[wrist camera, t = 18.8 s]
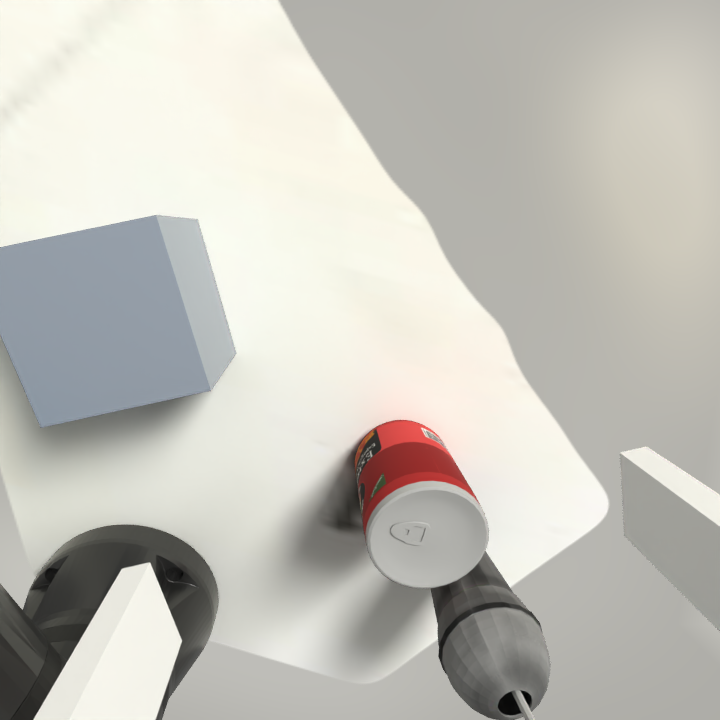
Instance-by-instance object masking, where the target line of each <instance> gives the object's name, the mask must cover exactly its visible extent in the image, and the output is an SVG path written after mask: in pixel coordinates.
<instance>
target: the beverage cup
mask: <svg viewBox="0 0 720 720" xmlns="http://www.w3.org/2000/svg"><path fill="white" fill-rule="evenodd" d="M431 593H432V598H433V603H434V608H435V613H436V618H437V623H438V644H439V659H440V662H441V665H442V668H443V670H444V671H445V673H446V674H447V675H448V678H449V680H450V683H451V684H452V686H453V688H454V689H455V691H456V692H457V693H458V694H459V696H460V697H461V698H462V699H463V700H464V701H465V702H466V703H467V704H468V705H469V706H470V707H471V708H472V709H474V710H475V711H477V712H479V713H480V714H483V715H484V716H486V717H488V718H492V719H496V720H515V719H518V718H521V717H524V718H525V720H535V719H534V716H533V714H532V711H533V710H534V709H535V708H536V707H537V706H538V705H539V703H540V702H541V700H542V698H543V696H544V694H545V692H546V690H547V687H548V682H549V676H550V658H549V653H548V650H547V646H546V642H545V639H544V636H543V633H542V629H541V626H540V623H539V621H538V620H537V619H536V617H535V616H534V615H533V614H532V612H530V611H529V610H528V609H527V608H526V606H525V605H524V604H523V603H522V602H521V601H520V599H519V598H518V597H517V596H516V595H515V594H514V593H513V592H512V590H511V589H510V587H509V586H508V584H507V583H506V581H505V580H504V578H503V577H502V575H501V574H500V572H499V571H498V569H497V568H496V566H495V565H494V563H493V562H492V560H491V559H490V557H489V556H488V554H487V553H486V551H485V552H484V554H483V556H482V558H481V560H480V561H479V562H478V564H477V565H476V566H475V567H474V568H473V569H472V570H471V571H470V572H469V573H467V574H466V575H465V576H463V577H462V578H460V579H458V580H457V581H454V582H452V583H450V584H447V585H444V586H440V587H435V588H431Z"/></svg>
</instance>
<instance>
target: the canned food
mask: <svg viewBox="0 0 720 720" xmlns="http://www.w3.org/2000/svg"><path fill="white" fill-rule="evenodd" d="M355 473H356V480H357V487H358V494H359V501H360V508H361V515H362V522H363V529H364V534H365V540H366V545H367V548H368V552H369V554H370V558H371V560H372V561H373V563H374V565H375V567H376V568H377V569H378V570H379V571H380V572H381V573H382V574H383V575H384V576H386V577H387V578H388V579H390V580H391V581H393V582H396V583H398V584H400V585H403V586H407V587H411V588H422V589H424V588H435V587H440V586H444V585H447V584H450V583H452V582H454V581H457V580H458V579H460V578H462V577H463V576H465V575H466V574H467V573H469V572H470V571H471V570H472V569H473V568H474V567H475V566H476V565H477V564H478V562H479V561H480V560H481V558H482V556H483V554H484V552H485V550H486V547H487V544H488V540H489V528H488V523H487V519H486V517H485V514H484V512H483V510H482V508H481V505H480V504H479V502H478V500H477V499H476V496H475V495H474V493H473V491H472V490H471V488H470V486H469V485H468V483H467V481H466V480H465V478H464V476H463V475H462V473H461V471H460V470H459V468H458V466H457V465H456V463H455V461H454V460H453V458H452V456H451V455H450V453H449V451H448V450H447V448H446V446H445V445H444V443H443V442H442V440H441V439H440V438H439V436H438V435H437V434H436V433H435V432H433V431H432V430H431V429H429V428H427V427H426V426H424V425H422V424H419V423H416V422H413V421H407V420H395V421H390V422H386V423H384V424H381V425H379V426H377V427H376V428H374V429H373V430H371V431H370V432H369V433H368V434H367V435H366V436H365V438H364V439H363V441H362V442H361V444H360V446H359V448H358V450H357V453H356V457H355Z"/></svg>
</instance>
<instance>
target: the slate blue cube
mask: <svg viewBox="0 0 720 720" xmlns="http://www.w3.org/2000/svg"><path fill="white" fill-rule="evenodd" d="M0 335H1V338H2V340H3V342H4V344H5V347H6V349H7V351H8V354H9V356H10V358H11V361H12V363H13V365H14V367H15V370H16V372H17V374H18V377H19V379H20V381H21V384H22V386H23V388H24V390H25V393H26V395H27V397H28V400H29V402H30V404H31V407H32V409H33V411H34V413H35V416H36V418H37V420H38V423H39V425H40V427H41V428H42V427H47V426H51V425H56V424H60V423H65V422H69V421H74V420H79V419H83V418H88V417H92V416H97V415H102V414H106V413H111V412H115V411H120V410H124V409H129V408H134V407H138V406H143V405H147V404H152V403H157V402H161V401H166V400H170V399H175V398H179V397H184V396H189V395H193V394H198V393H202V392H207V391H211V390H212V388H213V387H214V385H215V384H216V382H217V381H218V379H219V378H220V376H221V375H222V374H223V372H224V371H225V369H226V368H227V366H228V365H229V363H230V362H231V360H232V359H233V357H234V356H235V354H236V351H235V347H234V344H233V340H232V337H231V333H230V330H229V327H228V323H227V320H226V316H225V313H224V309H223V306H222V302H221V299H220V295H219V292H218V288H217V285H216V281H215V278H214V275H213V271H212V268H211V264H210V261H209V257H208V254H207V250H206V247H205V243H204V240H203V236H202V233H201V229H200V226H199V223H198V219H189V218H180V217H170V216H160V215H154V216H149V217H145V218H140V219H135V220H130V221H125V222H120V223H115V224H111V225H106V226H101V227H96V228H91V229H86V230H82V231H77V232H72V233H67V234H62V235H57V236H53V237H48V238H43V239H38V240H33V241H28V242H24V243H19V244H14V245H9V246H4V247H0Z"/></svg>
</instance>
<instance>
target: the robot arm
mask: <svg viewBox="0 0 720 720" xmlns="http://www.w3.org/2000/svg"><path fill="white" fill-rule="evenodd" d="M620 465H621V485H622V502H623V503H622V504H623V523H624V536H625V537H626V538H627V539H628V540H629V541H630V542H631V543H632V544H633V545H634V546H635V547H636V548H637V549H638V550H639V551H640V552H641V553H642V554H643V555H644V556H645V557H646V558H647V559H648V560H649V561H650V562H651V563H652V564H653V565H654V566H655V567H656V568H657V569H658V570H659V571H660V572H661V573H662V574H663V575H664V576H665V577H666V578H667V579H668V580H669V581H670V582H671V583H672V584H673V585H674V586H675V587H676V588H677V589H678V590H679V591H680V592H681V593H682V594H683V595H684V596H685V597H686V598H687V599H688V600H689V601H690V602H691V603H692V604H693V605H694V606H695V607H696V608H697V609H698V610H699V611H700V612H701V613H702V614H703V615H704V616H705V617H706V618H707V619H708V620H709V621H710V622H711V623H712V624H713V625H714V626H715V627H716V628H717V629H718V630H719V631H720V495H719V494H718V493H716V492H715V491H713V490H712V489H710V488H708V487H707V486H706V485H704V484H703V483H701V482H700V481H698V480H697V479H695V478H693V477H692V476H690V475H689V474H687V473H686V472H684V471H683V470H681V469H680V468H678V467H677V466H675V465H674V464H672V463H671V462H669V461H668V460H666V459H665V458H663V457H662V456H660V455H658V454H657V453H656V452H654V451H653V450H651V449H650V448H648V447H642V448H638V449H634V450H629V451H625V452H621V453H620ZM217 609H218V589H217V584H216V581H215V578H214V576H213V573H212V571H211V570H210V568H209V566H208V565H207V563H206V562H205V560H204V559H203V558H202V557H201V556H200V555H199V554H198V553H197V552H196V551H195V550H194V549H193V548H192V547H190V546H189V545H188V544H186V543H185V542H184V541H182V540H180V539H178V538H177V537H175V536H173V535H171V534H168V533H166V532H163V531H160V530H157V529H154V528H149V527H145V526H138V525H112V526H105V527H101V528H96V529H93V530H90V531H87V532H85V533H83V534H80V535H78V536H76V537H75V538H73V539H71V540H70V541H68V542H67V543H66V544H64V545H63V546H62V547H61V548H60V549H59V550H58V551H57V552H56V553H55V554H54V555H53V556H52V558H51V559H50V560H49V561H48V562H47V564H46V565H45V566H44V567H43V569H42V570H41V571H40V572H39V574H38V575H37V577H36V578H35V580H34V582H33V584H32V586H31V588H30V590H29V593H28V596H27V599H26V602H25V605H24V608H23V610H22V609H21V608H20V607H19V606H18V604H17V603H16V602H15V601H14V600H13V599H12V597H11V596H10V595H9V594H8V593H7V591H6V590H5V589H4V588H3V586H2V585H1V584H0V720H162V717H163V714H164V711H165V708H166V705H167V702H168V699H169V698H170V696H171V695H172V693H173V692H174V691H175V689H176V688H177V686H178V685H179V683H180V682H181V681H182V679H183V678H184V676H185V675H186V674H187V672H188V671H189V669H190V668H191V666H192V665H193V663H194V662H195V661H196V659H197V658H198V656H199V655H200V654H201V652H202V650H203V649H204V647H205V645H206V643H207V641H208V639H209V637H210V635H211V631H212V628H213V624H214V621H215V617H216V613H217Z"/></svg>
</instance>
